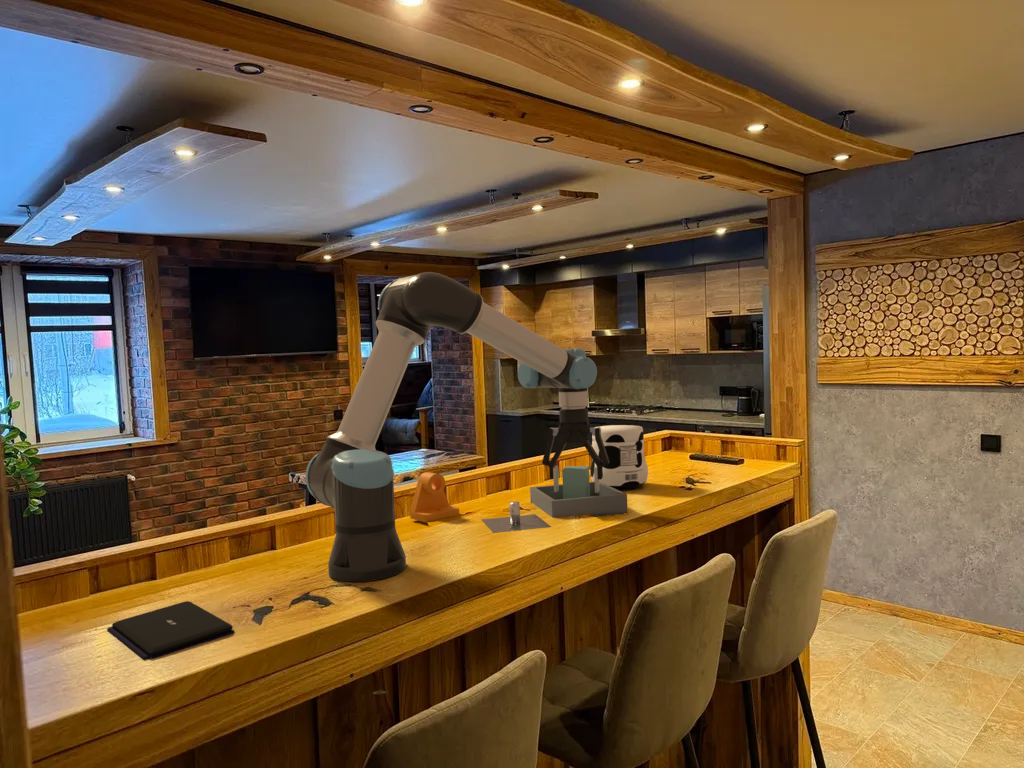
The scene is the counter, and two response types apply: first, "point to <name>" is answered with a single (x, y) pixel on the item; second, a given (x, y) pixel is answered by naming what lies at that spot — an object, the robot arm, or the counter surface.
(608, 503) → the bin
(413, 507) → the bracket
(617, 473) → the milk container
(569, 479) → the green rectangular block
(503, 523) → the base
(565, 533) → the counter surface
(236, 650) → the counter surface
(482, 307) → the robot arm
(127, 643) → the laptop
